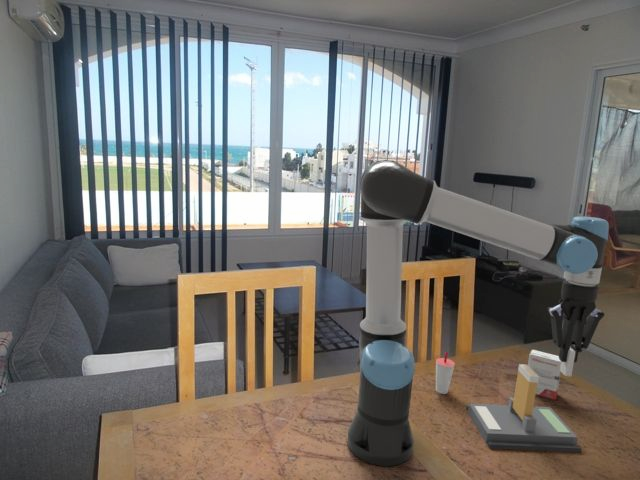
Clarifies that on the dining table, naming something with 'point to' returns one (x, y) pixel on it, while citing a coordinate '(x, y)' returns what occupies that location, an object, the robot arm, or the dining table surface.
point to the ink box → (545, 372)
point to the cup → (443, 374)
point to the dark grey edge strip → (534, 446)
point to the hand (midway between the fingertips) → (565, 373)
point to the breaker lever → (525, 391)
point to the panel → (520, 425)
